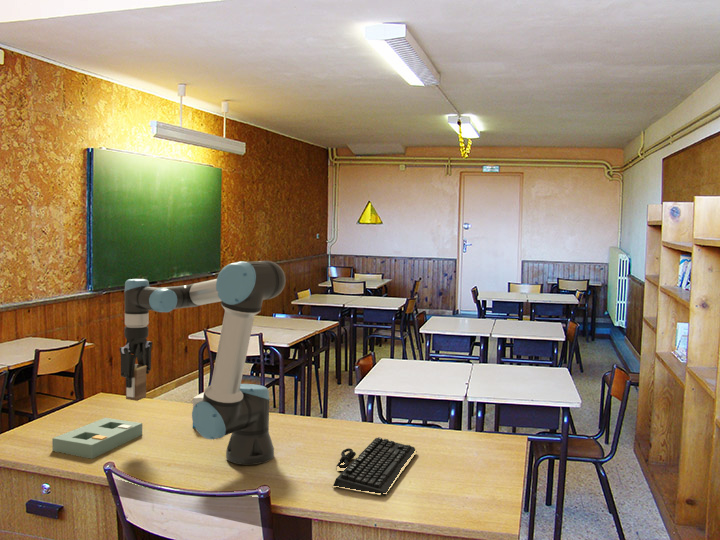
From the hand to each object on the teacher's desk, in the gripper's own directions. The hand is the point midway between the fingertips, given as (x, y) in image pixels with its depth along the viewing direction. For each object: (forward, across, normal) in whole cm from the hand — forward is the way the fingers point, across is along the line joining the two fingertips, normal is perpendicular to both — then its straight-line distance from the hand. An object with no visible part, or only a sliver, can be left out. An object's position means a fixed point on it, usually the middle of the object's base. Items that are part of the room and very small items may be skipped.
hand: (136, 394), depth 210 cm
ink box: (+17, -27, +10) cm, 33 cm away
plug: (+1, 0, 0) cm, 1 cm away
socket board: (+17, +4, -12) cm, 21 cm away
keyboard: (+17, -13, +79) cm, 82 cm away
